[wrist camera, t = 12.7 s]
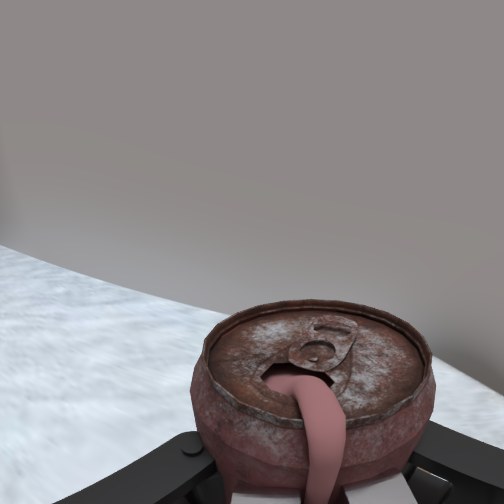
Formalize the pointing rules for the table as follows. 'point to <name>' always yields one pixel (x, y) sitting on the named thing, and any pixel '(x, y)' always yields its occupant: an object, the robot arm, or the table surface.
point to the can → (311, 395)
